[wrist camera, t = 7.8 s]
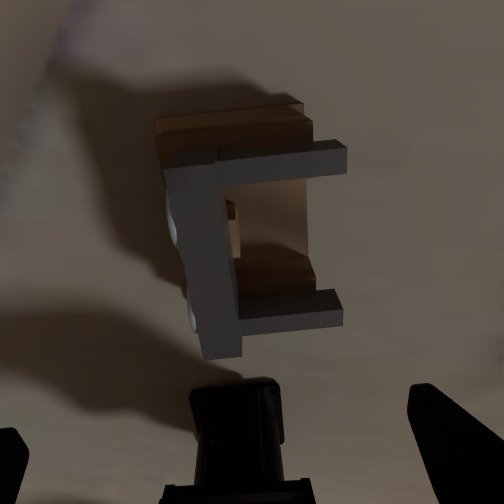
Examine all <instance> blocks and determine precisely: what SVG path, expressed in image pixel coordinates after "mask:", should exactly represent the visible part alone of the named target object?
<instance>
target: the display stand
mask: <svg viewBox="0 0 504 504" xmlns="http://www.w3.org/2000/svg"><path fill="white" fill-rule="evenodd" d="M154 124H155V128H156V133H157V137H156V138H155V141H156V145H157V150H158V155H159V159H160V164H161V169H162V173H163V178H164V182H165V187H166V188H167V186H166V181H165V177H164V172H163V169H164V167H165V166H166V165H167V163H168V162H169V160H170V159H171V158H172V156H173V155H174V154H175V152H176V151H185V150H194V149H204V148H213V147H218V150H219V152H221V151H230V150H239V149H249V148H258V147H267V146H277V145H286V144H295V143H305V142H313V121H312V120H310V119H309V118H308V117H306V116H305V115H304V103H302V102H296V103H287V104H278V105H269V106H260V107H251V108H242V109H233V110H224V111H215V112H206V113H196V114H187V115H178V116H169V117H160V118H156V119H155V120H154ZM309 178H314V177H309ZM306 179H307V178H299V179H290V180H280V181H271V182H262V183H252V184H243V185H233V186H224V193H225V200H226V207H227V215H228V222H229V229H230V236H231V244H232V251H233V258H234V265H235V273H236V280H237V287H238V294H239V298H248V297H258V296H268V295H278V294H287V293H297V292H307V291H316V276H315V274H314V271H313V268H312V266H311V263H310V260H309V258H308V231H307V198H306ZM179 253H180V258H181V261H182V256H181V251H180V250H179Z"/></svg>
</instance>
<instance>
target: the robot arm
mask: <svg viewBox="0 0 504 504" xmlns="http://www.w3.org/2000/svg"><path fill="white" fill-rule="evenodd" d="M195 396H197V397H195ZM189 401H190V405H191V409H192V413H193V416H194V420H195V424H196V428H197V432H198V436H199V440H198V449H197V459H196V469H195V478H194V485H188V486H175V484H173V485H166V486H165V489H164V492H163V496H162V499H160V500H159V504H316V502H315V498H314V494H313V490H312V486H311V481H310V478H301V479H300V480H289V481H284V474H283V465H282V456H281V447H280V445H281V444H283V443H284V441H285V440H284V428H283V417H282V406H281V395H280V386H279V384H278V383H276V382H266V383H256V384H246V385H235V386H225V387H215V388H205V389H195V390H192V391H191V392H190V396H189ZM407 415H408V419H409V422H410V425H411V428H412V431H413V434H414V436H415V439H416V442H417V445H418V448H419V451H420V454H421V456H422V459H423V462H424V465H425V468H426V471H427V473H428V476H429V479H430V482H431V485H432V487H433V490H434V493H435V495H436V497H437V499H438V502H439V504H504V440H503V439H502V438H500V437H499V436H498V435H496V434H495V433H494V432H493V431H491V430H490V429H489V428H487V427H486V426H485V425H484V424H482V423H481V422H480V421H478V420H477V419H476V418H475V417H473V416H472V415H471V414H469V413H468V412H467V411H466V410H464V409H463V408H462V407H460V406H459V405H458V404H457V403H455V402H454V401H453V400H452V399H450V398H449V397H448V396H446V395H445V394H444V393H443V392H441V391H440V390H439V389H437V388H436V387H435V386H433V385H432V384H429V383H422V384H414V385H412V386H411V387H410V390H409V398H408V405H407ZM28 460H29V449H28V447H27V445H26V444H25V442H24V441H23V439H22V438H21V436H20V434H19V433H18V431H17V430H16V429H15V428H13V427H9V428H0V504H15V502H16V499H17V496H18V493H19V490H20V486H21V483H22V480H23V477H24V473H25V470H26V467H27V464H28Z"/></svg>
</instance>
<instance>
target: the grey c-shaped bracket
mask: <svg viewBox="0 0 504 504" xmlns="http://www.w3.org/2000/svg"><path fill="white" fill-rule="evenodd" d="M163 172H164V177H165V181H166V186H167V188H166V213H167V221H168V226H169V231H170V235H171V238H172V241H173V244H174V246H175V248H176V249H177V250H180V251H181V256H182V261H183V265H184V270H185V275H186V279H187V307H188V315H189V321H190V325H191V328H192V331H193V332H194V333H198V336H199V340H200V345H201V350H202V354H203V359H204V360H214V359H224V358H234V357H242V336H248V335H258V334H268V333H277V332H287V331H297V330H307V329H317V328H327V327H337V326H343V308H342V305H341V303H340V301H339V298H338V296H337V294H336V292H335V289H327V290H317V291H307V292H297V293H287V294H278V295H268V296H258V297H248V298H239V294H238V287H237V280H236V273H235V265H234V258H233V251H232V244H231V236H230V229H229V222H228V215H227V207H226V200H225V193H224V186H233V185H243V184H252V183H262V182H271V181H280V180H290V179H299V178H309V177H318V176H328V175H337V174H346V173H347V147H346V146H344V145H343V144H342V143H340V142H339V141H338V140H336V139H333V140H323V141H314V142H305V143H295V144H286V145H277V146H267V147H258V148H249V149H239V150H230V151H221V152H219V150H218V147H213V148H204V149H194V150H185V151H176V152H175V154H174V155H173V156H172V158H171V159H170V160H169V162H168V163H167V165H166V166H165V167H164V169H163Z"/></svg>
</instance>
